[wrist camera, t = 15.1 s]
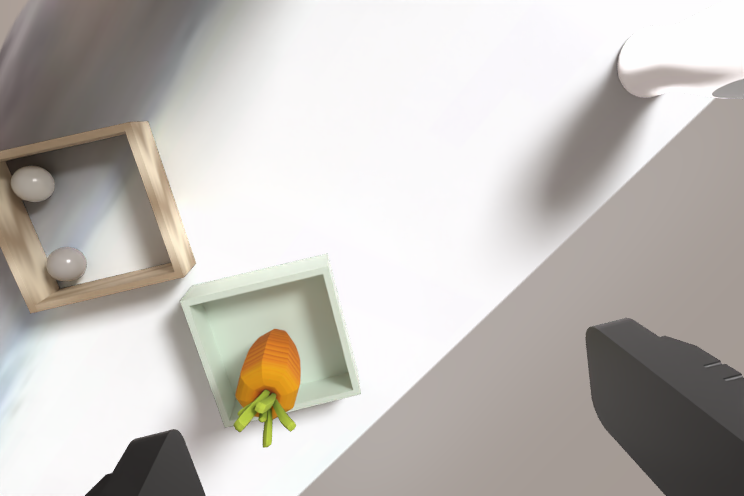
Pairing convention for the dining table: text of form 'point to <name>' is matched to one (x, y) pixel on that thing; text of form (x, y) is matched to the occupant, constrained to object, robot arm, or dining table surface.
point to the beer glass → (688, 55)
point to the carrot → (269, 382)
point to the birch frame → (26, 256)
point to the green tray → (267, 312)
